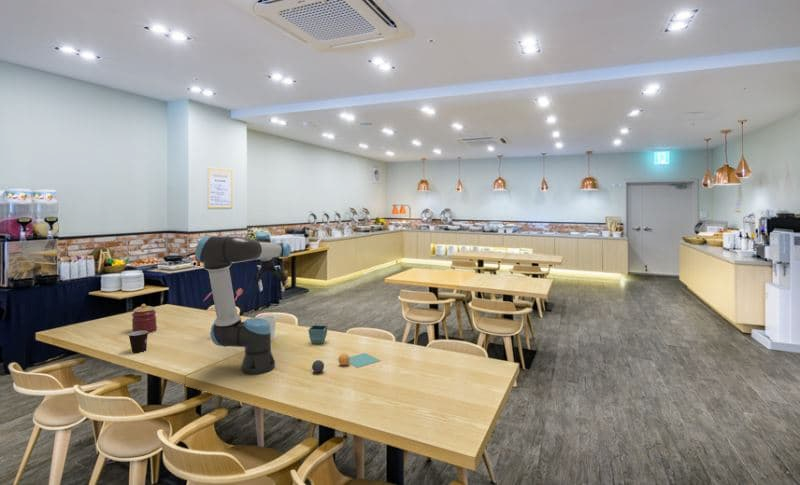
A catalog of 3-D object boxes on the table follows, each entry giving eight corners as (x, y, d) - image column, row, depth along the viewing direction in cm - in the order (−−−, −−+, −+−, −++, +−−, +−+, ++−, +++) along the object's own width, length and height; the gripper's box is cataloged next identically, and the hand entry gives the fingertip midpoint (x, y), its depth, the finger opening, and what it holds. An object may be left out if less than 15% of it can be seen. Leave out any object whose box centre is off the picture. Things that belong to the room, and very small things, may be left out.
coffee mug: (139, 354, 209) (138, 335, 208) (125, 353, 211) (124, 334, 210) (157, 347, 221) (156, 329, 220) (143, 346, 222) (142, 328, 222)
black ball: (315, 375, 182) (315, 363, 182) (310, 371, 187) (309, 360, 186) (326, 372, 186) (326, 360, 185) (320, 368, 190) (320, 357, 190)
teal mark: (357, 367, 191) (357, 367, 191) (342, 359, 202) (342, 359, 202) (380, 360, 200) (380, 360, 200) (364, 353, 211) (364, 352, 211)
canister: (134, 330, 253) (133, 302, 252) (158, 327, 258) (157, 300, 257) (130, 335, 241) (129, 307, 240) (155, 333, 247) (154, 305, 245)
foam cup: (273, 342, 229) (272, 319, 228) (257, 342, 230) (256, 319, 229) (278, 337, 239) (278, 315, 238) (263, 336, 239) (262, 315, 238)
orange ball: (342, 367, 191) (342, 356, 191) (336, 364, 195) (336, 353, 195) (351, 365, 195) (351, 354, 194) (345, 361, 199) (345, 351, 198)
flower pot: (328, 340, 232) (327, 325, 231) (323, 345, 223) (323, 329, 223) (313, 340, 233) (313, 325, 232) (308, 345, 224) (308, 329, 224)
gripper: (289, 255, 232) (294, 287, 240) (248, 255, 235) (255, 287, 243) (285, 261, 225) (290, 294, 233) (243, 260, 228) (249, 293, 236)
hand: (272, 290), depth 238 cm, fingers open, 13 cm apart
